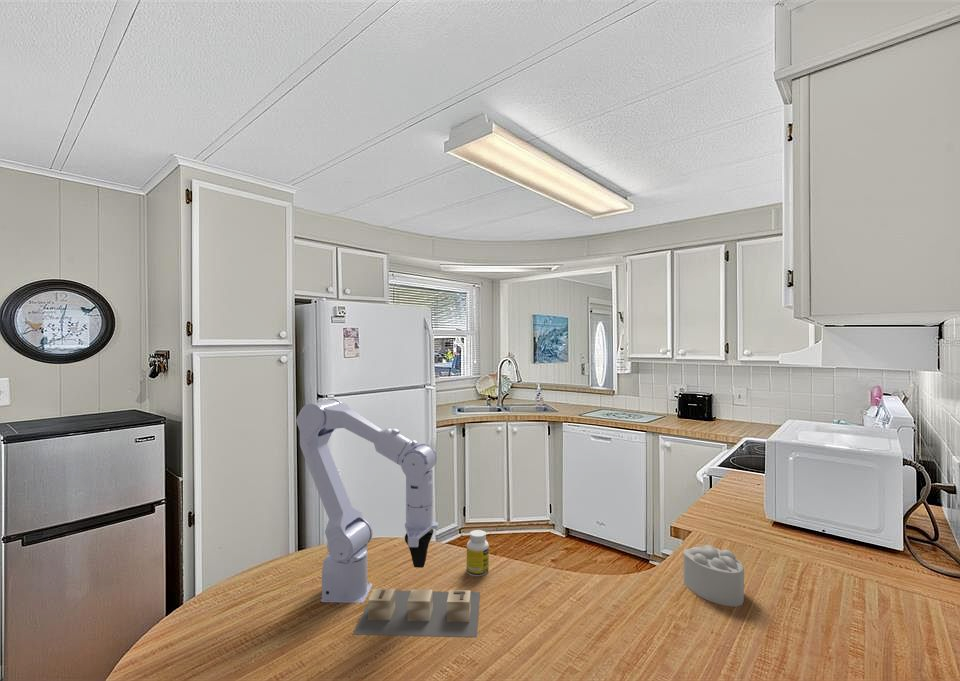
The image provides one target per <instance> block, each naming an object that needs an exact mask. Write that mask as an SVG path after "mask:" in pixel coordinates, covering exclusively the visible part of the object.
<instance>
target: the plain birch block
mask: <svg viewBox="0 0 960 681" xmlns="http://www.w3.org/2000/svg"><path fill="white" fill-rule="evenodd" d="M433 590H434V589H424V588H423V589H421V588H420V589H417V588H415V589H413V588H412V589H411V590H410V591H411V592H410V595H409V598H408V601H407V615H408V621H430V618H431V614H432V610H433Z"/></svg>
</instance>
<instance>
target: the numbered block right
mask: <svg viewBox="0 0 960 681" xmlns="http://www.w3.org/2000/svg"><path fill="white" fill-rule="evenodd" d="M448 592H449V594H448V599H447V622H469V621H470V611H471V592H472V591H471V590H469V589H468V590H467V589H449V590H448Z"/></svg>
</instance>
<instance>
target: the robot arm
mask: <svg viewBox="0 0 960 681" xmlns="http://www.w3.org/2000/svg"><path fill="white" fill-rule="evenodd" d="M295 423H296V425H297V427H298V428H297V429H298V430H299V446H300V449H301V452H302V454H303V457H304V459H305V462H306V465H307V467H308V469H309V472H310V475H311V477H312V480H313V482H314V485H315V487H316V490H317V492H318V495H319V498H320V500H321V503H322V505H323V507H324V510H325V512H326V515H327V517H328V521H327V524H326V527H325V530H324V534H325V536H326V541H327V543H326V544H327V545H326V548H327V552H328V554H327V555H326V556H325V558H324V560H323V563H322V569H321V600H320V602H322V603H350V604H351V603H352V604H353V603H359V604H361V603H365V600H366V599H367V596H368V595H369V592H370V590H371V589H372V587H373V583H368V544H369V543H370V542H371V541H372V538H373V534H374V533H373V528H372V525H371V523H369V522H368V520H366V519H365V517H364V516H363V513H362V511H360V510H359V509H356V508H355V507H353V505H352V503H351V500H350V498H349V496H348V493H347V491H346V488H345V485H344V483H343V481H342V478H341V476H340V472H339V471H338V468H337V465H336V463H335V460H334V458H333V456H332V453H331V451H330V449H329V446H328V442H329V440H330V438H331V436H332V434H333V432H335V430H337V429H346V431H348V432H350V433H352V434H355V435H357V436H358V437H360V438H362V439H365V440H367V441H369V443H373V444H374V449H375V452H376V453H378V454H380V455H382V456H383V457H385V458H386V459H388V460H390V461H392V462H394V463H395V464H397V465H399V466H400V468H401V470H402V472H403V474H404V475H405V524H404V529H405V532H406V533H405V535H404V541H405V543H406V544H407V548H409V552H410V556H411V560H412V564H413V565H412V566H413V568H416V569H417V568H419V569H420V568H421V569H424V567H425V565H426V560H427V555H428V549H429V545H430V542H431V540H432V537H433V534H434V529H435V530H436V529H438V527H439V522H438V521H433V518H434V515H433V513H434V511H433V508H434V504H433V503H434V500H433V498H434V496H433V495H434V493H433V491H434V486H433V482H434V481H433V473H434V470H433V468H434V467H435V465H436V463H437V453H436V451H435V450H434V448H433V447H431V446H430V445H429V444H428V443H420V444H419V441H417V440H415V439H414V440H411V439H410V438H408V437H406V436H405V435H403V434H401V430H400V429H397V428H396V427H395V428H391V427H390V428H385V429H382V428H381V427H378V426H377V425H376V424H374V423H372V422H371V421H370V420H368V418H365V417H363V416H362V415H361V414H359V413H358V412H356V411H354V410H353V409H352V408H351V407H350V406H349V405H348V404H347V403H344V402H341V400H339V399H336V398H328V399H326V400H322V401H318V402H314V403H307V404H304V406H303V407H302V408H301V409H300V411H299V413H298V414H297V417H296V420H295Z"/></svg>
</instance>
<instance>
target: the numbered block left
mask: <svg viewBox="0 0 960 681" xmlns="http://www.w3.org/2000/svg"><path fill="white" fill-rule="evenodd" d="M395 591H396V589H395V588H373V590H372V591H371V594H370V595H369V598H368V600H367V604H368V620H391V617H392V615H393V612H394V609H395Z"/></svg>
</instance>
